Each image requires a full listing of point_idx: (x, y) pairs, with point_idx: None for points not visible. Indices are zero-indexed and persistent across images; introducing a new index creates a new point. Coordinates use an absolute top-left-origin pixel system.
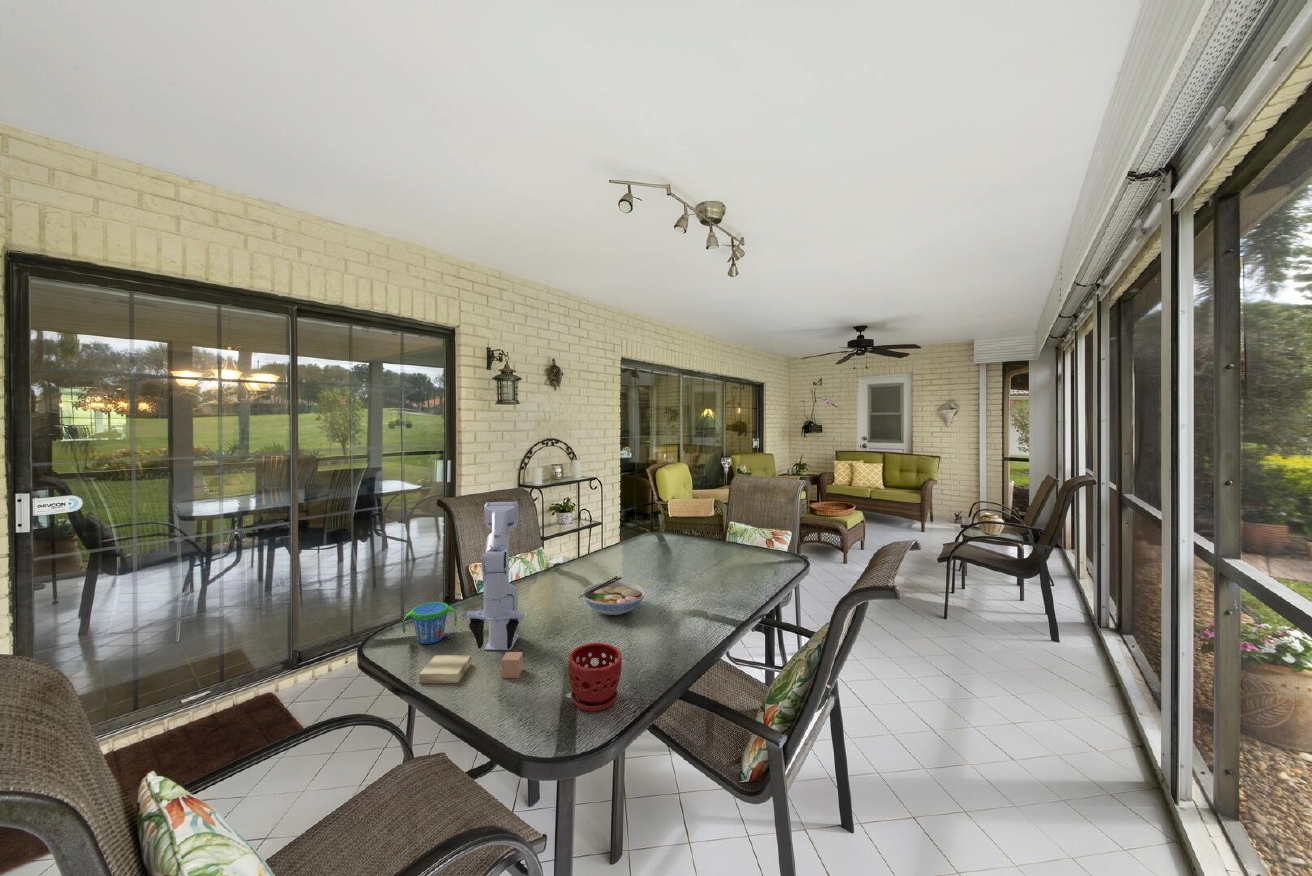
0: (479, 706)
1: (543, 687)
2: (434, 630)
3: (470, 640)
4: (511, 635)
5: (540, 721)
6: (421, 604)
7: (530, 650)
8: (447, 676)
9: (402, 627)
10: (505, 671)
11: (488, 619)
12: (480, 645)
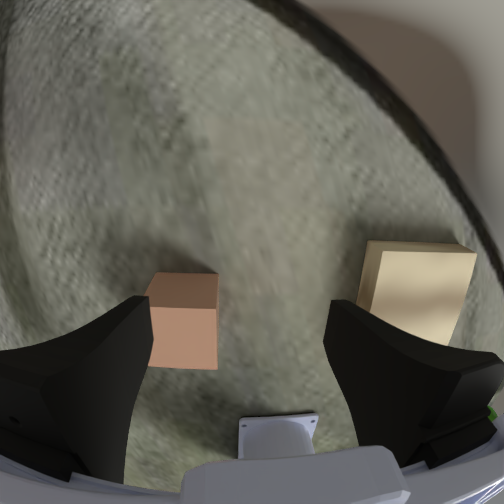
0: (248, 82)
1: (57, 210)
2: None
3: (356, 436)
4: (71, 334)
5: (44, 36)
6: None
7: (179, 415)
8: (408, 248)
9: (494, 411)
10: (202, 284)
11: (363, 493)
12: (338, 307)
